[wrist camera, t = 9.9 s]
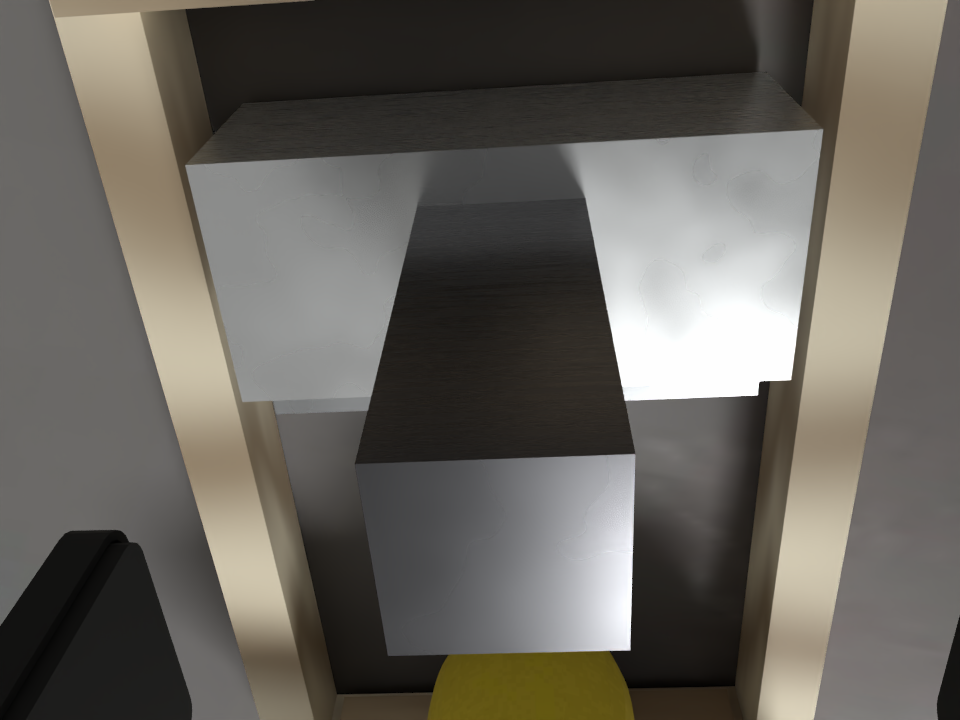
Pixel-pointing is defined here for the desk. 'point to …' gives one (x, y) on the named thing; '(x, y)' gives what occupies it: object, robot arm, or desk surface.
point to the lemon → (531, 687)
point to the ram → (508, 316)
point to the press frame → (791, 403)
